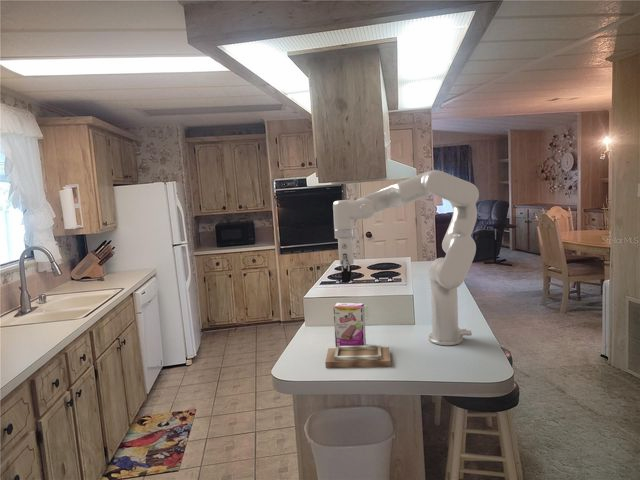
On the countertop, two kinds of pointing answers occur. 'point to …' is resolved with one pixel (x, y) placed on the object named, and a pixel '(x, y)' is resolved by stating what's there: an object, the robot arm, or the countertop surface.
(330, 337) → the countertop surface
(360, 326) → the candy bar box
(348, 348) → the walnut plinth
